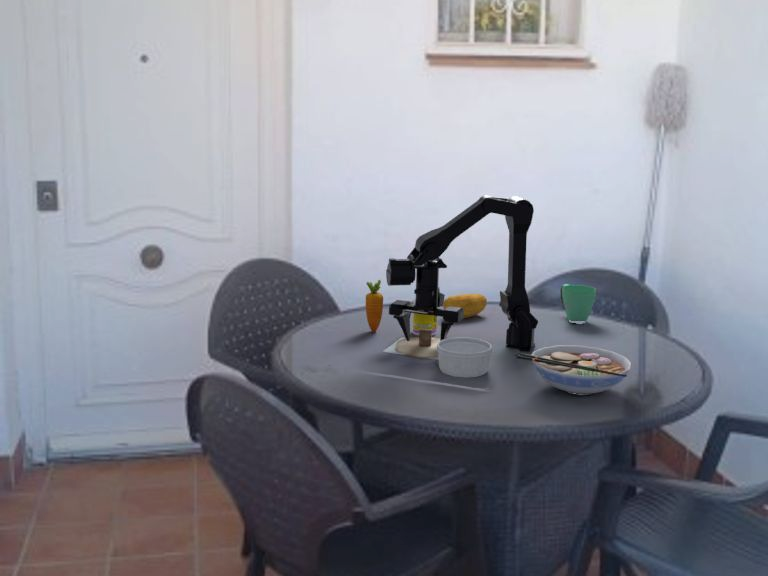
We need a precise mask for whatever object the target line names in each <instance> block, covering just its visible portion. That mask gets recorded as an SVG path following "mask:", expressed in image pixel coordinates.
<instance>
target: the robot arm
mask: <svg viewBox="0 0 768 576" xmlns="http://www.w3.org/2000/svg"><path fill="white" fill-rule="evenodd" d="M490 214H496V215H501V216H504V219H505V222H506V225H507V229H508V234H509V235H508V264H507V265H508V266H507V268H508V269H507V284H506V285H507V286H506V288H505V290H499V297H500V300H499V301H500V302H499V304H498V306H499V307H501V311H502V312H503V314H504V315H505V316H506V317H507V319H508V321H509V322H510V323H509V324H508V328H507V329H506V336H505V337H506V338H505V344H506V346H505V347H506V348H508V349H509V348H510V349H516V350H519V351H526V352H531V351H532V349H533V348H534V347H535V345H536V343H535V342H534V341H535V329H536V328H537V326H538V324H539V320H538V319H537V318H536V317H535V316H534V315H533V314H532V313H531V307H530V300H529V296H528V292H527V289H526V267H527V266H526V263H527V262H526V261H527V239H528V237H527V235H528V232H529V229H530V227H531V225H532V222H533V216H534V206H533V204H532V203H531V202H530V201H529V200H527V199H525V198H522V197H520V196H515V195H514V196H511V197H509V198H506V197H497V196H490V195H487V194H486V195H484V194H483V195H482V196H480V197H479V199H478V200H476V201H475V202H474V203H472V204H471V205H469V206H468V207H467V208H465V209H464V210H463V211H462V212H460V213H458V214H457V215H456V216H455V217H453V218H451V220H449V221H447V222H446V223H445V224H444V225H442V226H440V227H437V228H434V229H431V230H430V231H427V232H426V233H423V234H421V235H419V236H418V237H417V239H415V244H414V247H413V249H412V250H411V252H410V253H409V254H408V255H407V257H406V258H389V259H388V264H387V267H386V268H387V269H386V270H385V271H386V272H385V274H386V275H385V276H386V277H385V279H386V284H387V286H388V287H391V286H411V284H414V282H415V289H414V292H413V293H414V294H415V298H416V299H415V298H414V299H415V305H414V306H413V304H412V305H411V302H410V301H409V300H401V299H396V300H395V301H394V302H391V304H389V306H388V315H390V316H393V319H396V321H397V322H398V324H399V326H400V328H401V330H402V333H403V335H404V338H406V340H407V341H410V338H411V321H410V320H411V315H412V314H413V313H417V314H425V315H433V316H437V317H442V319H443V321H442V322H441V324H440V325H441V326H440V338H439V339H440V341H441V340H444V339H447V337H448V334H449V331H450V329H451V328H452V327H453V326H454V325H455V324H457V323H459V322H460V321H462V320H463V319H465V318H464V310H463V309H462V308H461V307H453V306H449V307H447V308H446V309H444V308H441V307H443V305H444V301H445V295H446V294H444V293H442V292H441V291H440V286H439V278H440V276H439V274H440V269H447V268H448V265H447V264H446V263H445V262H444V261H443V259H442V257H441V256H442V255H443V254H444V253H445V252H446V250H447V249H448V248H449V246H450V245H451V244H452V242H453V241H455V239H457V238H459V236H461V235H462V234H463V233H465V232H466V231H468V230H469V229H470V228H472V227H473V226H475V224H477V223H479V222H480V221H481V220H482V219H484V218H486V216H488V215H490ZM420 310H424V311H420ZM429 311H433V312H429Z"/></svg>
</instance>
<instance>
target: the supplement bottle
mask: <svg viewBox="0 0 768 576" xmlns="http://www.w3.org/2000/svg"><path fill="white" fill-rule="evenodd" d="M415 299H416V297H415V298H414V299H413V300H412V301H413V302H412V303H413V304H412V306H414V305H415ZM420 311H424V310H420ZM429 312H433V311H429ZM437 319H438V316H433V315H425V314H417V313H412V325H411V326H412V328H411V329H412V331H411V332H412V334H413V335H414V336H417V337H419V330H420V329H430V330H432V336H431V337H433V336H436V334H437V328H438V327H437V326H438V323H437V322H438V320H437Z"/></svg>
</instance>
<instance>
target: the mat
mask: <svg viewBox="0 0 768 576" xmlns="http://www.w3.org/2000/svg"><path fill="white" fill-rule="evenodd" d="M405 338H406V337H404V336H403V337H400V338H399V339H398V340H396V341H395V342H394V343H392V344H391V345H390V346H388V347H387V348H385V349H384V350H383V351H382V352H383V353H389V354H395V355H402V356H406V355H405V354H402V353H400V352H398V351H397V350H396V343H397V342H398V341H399V340H402V339H405ZM428 359H431V360H438V361H439V359H438V357H435V358H428Z"/></svg>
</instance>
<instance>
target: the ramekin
mask: <svg viewBox="0 0 768 576" xmlns="http://www.w3.org/2000/svg"><path fill="white" fill-rule="evenodd" d="M437 351H438V359H439V360H438V367H439V370H440V371H441V372H442V373H443V374H445V375H448V376H451V377H455V378H465V379H466V378H467V379H469V378H476V377H481V376H484V375H485V374H486V373H487V372H488V370H489V365H490V360H491V355H492V352H493V345H492V344H491V343H490V342H488V341H486V340H484V339H480V338H475V337H468V336H467V337H465V336H461V337H459V336H458V337H449V338H446V339H444V340H441V341H439V342H438V344H437Z"/></svg>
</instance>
